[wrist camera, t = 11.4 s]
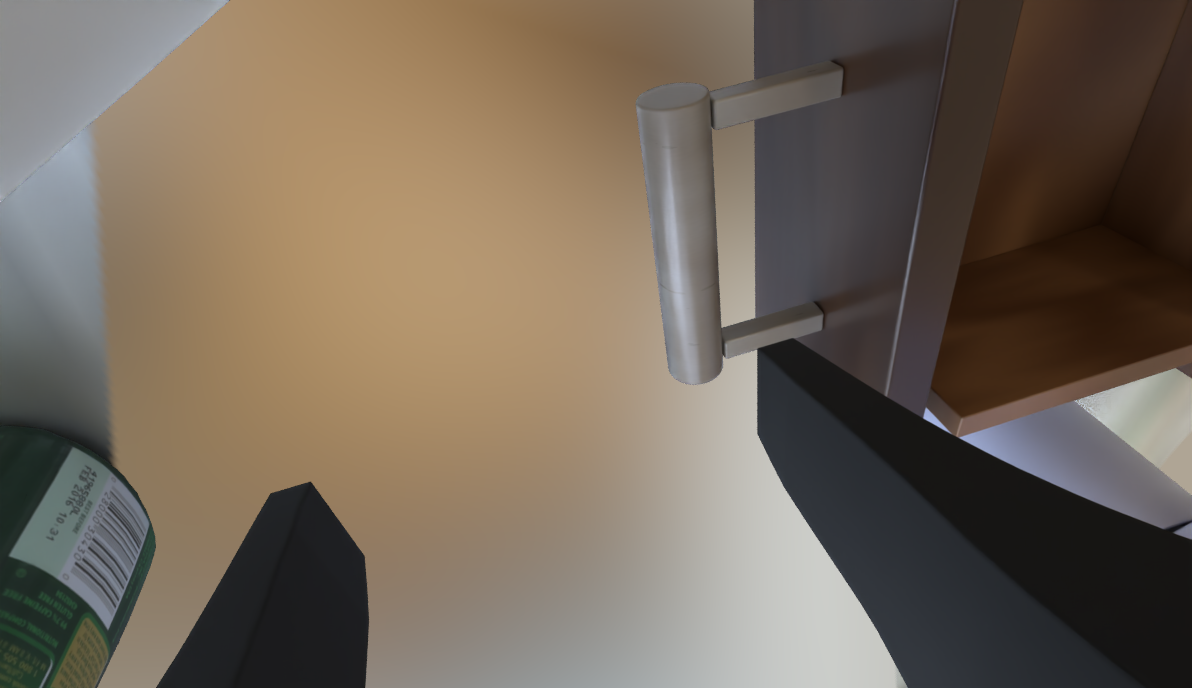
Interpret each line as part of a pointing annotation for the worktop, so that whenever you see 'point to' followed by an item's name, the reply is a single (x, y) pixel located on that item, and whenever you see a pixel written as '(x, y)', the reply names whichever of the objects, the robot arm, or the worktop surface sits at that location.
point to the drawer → (943, 199)
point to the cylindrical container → (76, 67)
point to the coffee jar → (65, 560)
